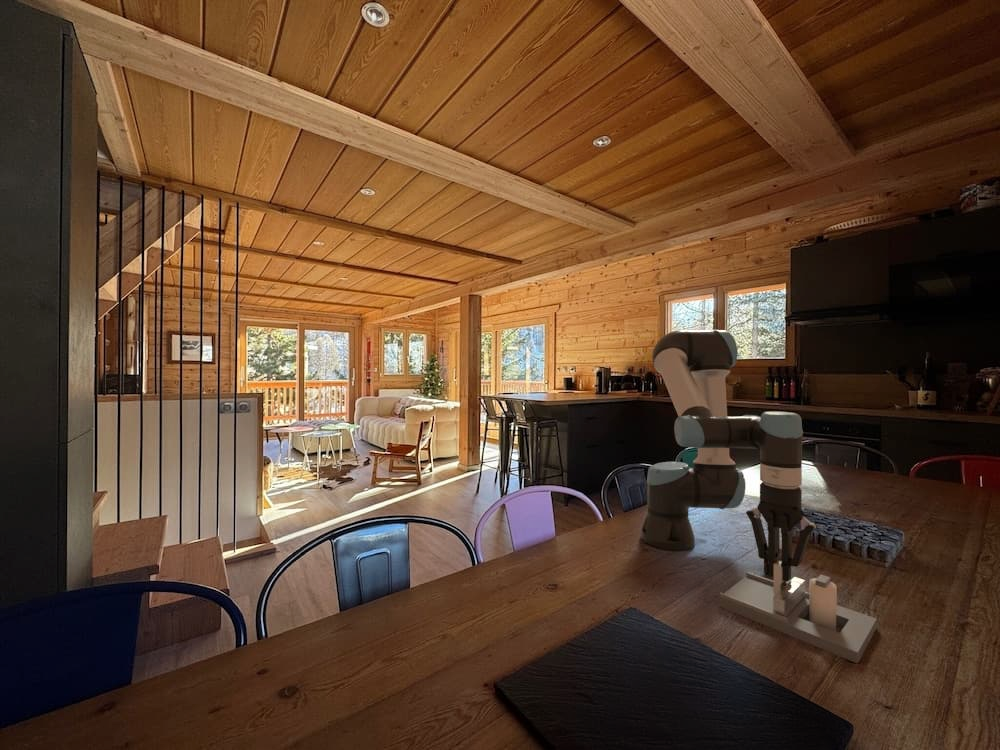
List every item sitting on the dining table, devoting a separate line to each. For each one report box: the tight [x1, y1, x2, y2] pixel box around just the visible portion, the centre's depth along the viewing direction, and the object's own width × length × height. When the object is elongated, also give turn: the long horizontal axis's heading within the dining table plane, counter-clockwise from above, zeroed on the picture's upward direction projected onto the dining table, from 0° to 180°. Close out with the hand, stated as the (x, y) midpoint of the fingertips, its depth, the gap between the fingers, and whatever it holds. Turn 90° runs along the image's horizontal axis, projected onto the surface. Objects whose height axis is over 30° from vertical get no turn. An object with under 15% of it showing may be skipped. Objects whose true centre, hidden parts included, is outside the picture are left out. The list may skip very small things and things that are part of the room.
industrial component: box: [757, 528, 782, 575], centre depth 110 cm, size 9×7×12 cm
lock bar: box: [773, 576, 806, 617], centre depth 92 cm, size 2×13×4 cm, turn 130°
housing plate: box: [718, 571, 878, 664], centre depth 91 cm, size 24×16×3 cm, turn 40°
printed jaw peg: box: [808, 574, 838, 632], centre depth 87 cm, size 4×4×10 cm
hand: (779, 593), depth 93 cm, fingers closed
